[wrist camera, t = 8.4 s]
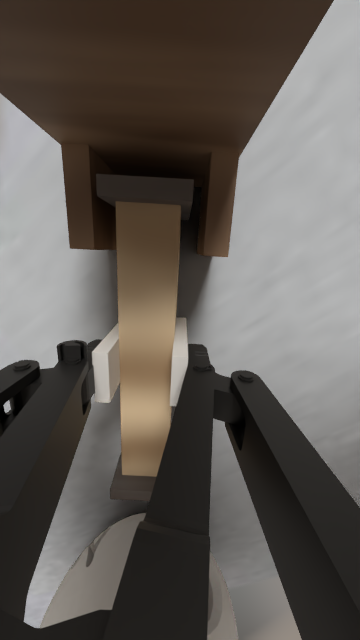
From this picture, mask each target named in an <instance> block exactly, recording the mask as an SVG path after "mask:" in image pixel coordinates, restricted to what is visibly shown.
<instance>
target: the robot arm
mask: <svg viewBox="0 0 360 640" xmlns="http://www.w3.org/2000/svg"><path fill="white" fill-rule="evenodd" d="M57 353H58V361H59V362H58V363H57V364H56V366H55V367H54V368H48V369H40V366H39V363H38V362H37V361H34V360H24V361H23V360H22V361H18V362H16V363H13V364H11V365H8V366H7V367H5V368H3V369H2V370H0V640H207V628H208V596H209V565H210V537H209V509H210V483H211V457H212V431H213V418H214V419H217V420H221V421H224V422H225V427H226V430H227V432H228V435H229V438H230V441H231V443H232V446H233V449H234V452H235V455H236V457H237V460H238V463H239V466H240V468H241V471H242V474H243V477H244V480H245V482H246V485H247V488H248V491H249V494H250V496H251V499H252V502H253V505H254V507H255V510H256V513H257V516H258V519H259V521H260V524H261V527H262V530H263V532H264V535H265V538H266V541H267V544H268V546H269V549H270V552H271V555H272V557H273V560H274V563H275V566H276V569H277V571H278V574H279V577H280V579H281V582H282V585H283V588H284V591H285V594H286V596H287V599H288V602H289V605H290V608H291V610H292V613H293V616H294V619H295V621H296V624H297V627H298V630H299V633H300V635H301V638H302V640H360V508H359V506H358V505H357V504H356V502H355V501H354V500H353V498H352V497H351V496H350V495H349V493H348V492H347V491H346V489H345V488H344V487H343V485H342V484H341V483H340V481H339V480H338V479H337V478H336V476H335V475H334V474H333V472H332V471H331V470H330V468H329V467H328V466H327V464H326V463H325V462H324V461H323V459H322V458H321V457H320V455H319V454H318V453H317V451H316V450H315V449H314V448H313V446H312V445H311V444H310V442H309V441H308V440H307V438H306V437H305V436H304V434H303V433H302V432H301V431H300V429H299V428H298V427H297V425H296V424H295V423H294V421H293V420H292V419H291V417H290V416H289V415H288V414H287V412H286V411H285V410H284V408H283V407H282V406H281V404H280V403H279V402H278V400H277V399H276V398H275V397H274V395H273V394H272V393H271V391H270V390H269V389H268V387H267V386H266V385H265V383H264V382H263V381H262V380H261V378H260V377H259V376H258V375H256V374H254V373H252V372H250V371H249V372H248V371H242V370H240V371H235V372H233V373H232V374H231V378H229V377H225V376H222V375H219V374H217V373H215V369H214V367H213V366H212V365H211V364H210V361H209V357H208V353H207V348H206V347H205V346H203V345H201V344H188V342H187V323H186V318H179V317H176V325H175V336H174V343H173V352H172V369H171V390H170V406H176V409H175V412H174V416H173V419H172V423H171V427H170V430H169V434H168V437H167V441H166V444H165V448H164V452H163V455H162V459H161V462H160V466H159V469H158V473H157V476H156V480H155V484H154V487H153V491H152V494H151V498H150V501H149V505H148V509H147V512H146V515H145V518H144V520H143V521H140V522H139V524H138V526H137V529H136V532H135V534H134V537H133V540H132V544H131V547H130V550H129V554H128V557H127V560H126V564H125V567H124V570H123V574H122V577H121V580H120V583H119V587H118V590H117V593H116V597H115V600H114V603H113V607H112V610H103V609H100V610H97V611H94V612H91V613H87V614H84V615H81V616H78V617H75V618H72V619H69V620H66V621H63V622H60V623H57V624H53V625H50V626H47V627H44V628H34V627H32V626H30V625H28V624H26V623H24V622H23V621H24V614H25V606H26V598H27V594H28V590H29V586H30V583H31V580H32V577H33V574H34V571H35V568H36V565H37V563H38V560H39V557H40V554H41V551H42V548H43V545H44V542H45V539H46V536H47V534H48V531H49V528H50V525H51V522H52V519H53V516H54V513H55V510H56V507H57V505H58V502H59V499H60V496H61V493H62V490H63V487H64V484H65V481H66V478H67V476H68V473H69V470H70V467H71V464H72V461H73V458H74V455H75V452H76V449H77V447H78V444H79V441H80V438H81V435H82V432H83V429H84V426H85V423H86V420H87V417H88V415H89V412H90V409H91V397H92V395H93V394H94V396H95V402H102V403H110V402H111V400H112V398H113V396H114V394H115V391H116V389H117V387H118V385H119V383H120V360H119V324H118V323H117V324H116V326H115V327H114V328H113V329H112V330H111V331H110V332H109V333H108V335H107V336H106V337H105V338H104V339H103V340H94V341H92V342H90V343H89V344H88V345H87V343H86V342H84V341H79V340H72V341H66V342H63V343H60V344H58V345H57ZM8 400H9V401H10V406H11V410H10V411H9V412H7V413H5V412H4V407H3V405H4V404H5V402H7V401H8Z"/></svg>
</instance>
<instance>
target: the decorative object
mask: <svg viewBox="0 0 360 640" xmlns="http://www.w3.org/2000/svg"><path fill="white" fill-rule="evenodd" d="M145 515H146V513H141V514H136V515H132V516H129V517H127V518H125V519H123V520H120V521H119V522H117V523H115V524H113V525H112V526H110V527H109V528H107V529H106V530H105V531H104V532H102V533H101V534H100V535H99V536H98V537H97V538H96V539H94V541H93V542H92V543H91V544H90V546H88V547H87V548H86V549H85V550H84V551H83V553H82V554H81V555H80V556H79V557H78V559H77V560H76V561H75V563H74V564H73V565H72V567H71V568H70V569H69V571H68V572H67V574H66V576H65V577H64V579H63V581H62V582H61V584H60V586H59V588H58V590H57V591H56V593H55V595H54V597H53V599H52V601H51V603H50V605H49V607H48V609H47V611H46V613H45V615H44V618H43V620H42V623H41V625H40V628H44V627H47V626H50V625H53V624H57V623H60V622H63V621H66V620H69V619H72V618H75V617H78V616H81V615H84V614H87V613H91V612H94V611H97V610H100V609H103V610H112V607H113V603H114V600H115V597H116V593H117V590H118V587H119V583H120V580H121V577H122V574H123V570H124V567H125V564H126V560H127V557H128V554H129V550H130V547H131V544H132V540H133V537H134V534H135V532H136V529H137V526H138V524H139V522H140V521H143V520H144V518H145ZM207 640H238V634H237V627H236V620H235V615H234V611H233V607H232V603H231V598H230V595H229V592H228V588H227V585H226V583H225V580H224V578H223V575H222V572H221V570H220V568H219V566H218V564H217V563H216V561H215V559H214V557H213V555H212V554H211V552H210V565H209V596H208V628H207Z"/></svg>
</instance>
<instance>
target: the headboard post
mask: <svg viewBox="0 0 360 640" xmlns="http://www.w3.org/2000/svg"><path fill="white" fill-rule="evenodd" d="M333 1H334V0H0V93H1V94H2V95H3V96H4V97H6V98H7V99H8V100H9V101H10V102H11V103H13V104H14V105H15V106H16V107H17V108H18V109H20V110H21V111H22V112H23V113H24V114H26V115H27V116H28V117H29V118H30V119H31V120H33V121H34V122H35V123H36V124H37V125H38V126H40V127H41V128H42V129H43V130H44V131H45V132H47V133H48V134H49V135H50V136H51V137H52V138H54V139H55V140H56V141H57V142H58V143H59V144H61V148H62V160H63V172H64V183H65V195H66V207H67V219H68V231H69V243H70V248H72V249H90V250H117V240H116V208H115V207H113V206H112V205H110V204H109V203H107V202H106V201H104V200H103V199H101V198H100V197H98V196H97V185H96V174H108V175H126V176H143V177H160V178H177V179H194V187H202V188H201V202H200V216H199V230H198V244H197V254H200V255H203V256H217V257H228V251H229V242H230V233H231V224H232V214H233V205H234V196H235V187H236V178H237V169H238V160H239V157H240V155H241V153H242V152H243V150H244V148H245V147H246V145H247V143H248V142H249V140H250V138H251V137H252V135H253V133H254V132H255V130H256V128H257V127H258V125H259V123H260V122H261V120H262V118H263V117H264V115H265V113H266V112H267V110H268V108H269V107H270V105H271V103H272V102H273V100H274V99H275V97H276V95H277V94H278V92H279V90H280V89H281V87H282V85H283V84H284V82H285V80H286V79H287V77H288V75H289V74H290V72H291V70H292V69H293V67H294V65H295V64H296V62H297V60H298V59H299V57H300V55H301V54H302V52H303V50H304V49H305V47H306V46H307V44H308V42H309V41H310V39H311V37H312V36H313V34H314V32H315V31H316V29H317V27H318V26H319V24H320V22H321V21H322V19H323V17H324V16H325V14H326V12H327V11H328V9H329V7H330V6H331V4H332V2H333Z"/></svg>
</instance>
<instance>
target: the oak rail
mask: <svg viewBox="0 0 360 640" xmlns="http://www.w3.org/2000/svg"><path fill="white" fill-rule="evenodd" d="M96 185H97V196H98V197H100V198H101V199H103V200H104V201H106V202H107V203H109V204H110V205H112V206H113V207H115V208H116V240H117V282H118V324H119V360H120V409H121V455H120V458H119V461H118V465H117V468H116V471H115V475H114V478H113V481H112V484H111V488H110V499H120V500H141V501H150V498H151V494H152V491H153V487H154V484H155V480H156V476H157V473H158V469H159V466H160V462H161V459H162V455H163V452H164V448H165V444H166V441H167V437H168V434H169V430H170V427H171V411H172V406H170V390H171V369H172V352H173V343H174V336H175V325H176V313H177V293H178V273H179V254H180V234H181V220H189V216H190V212H191V207H192V202H193V188H194V179H177V178H160V177H143V176H126V175H108V174H96Z"/></svg>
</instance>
